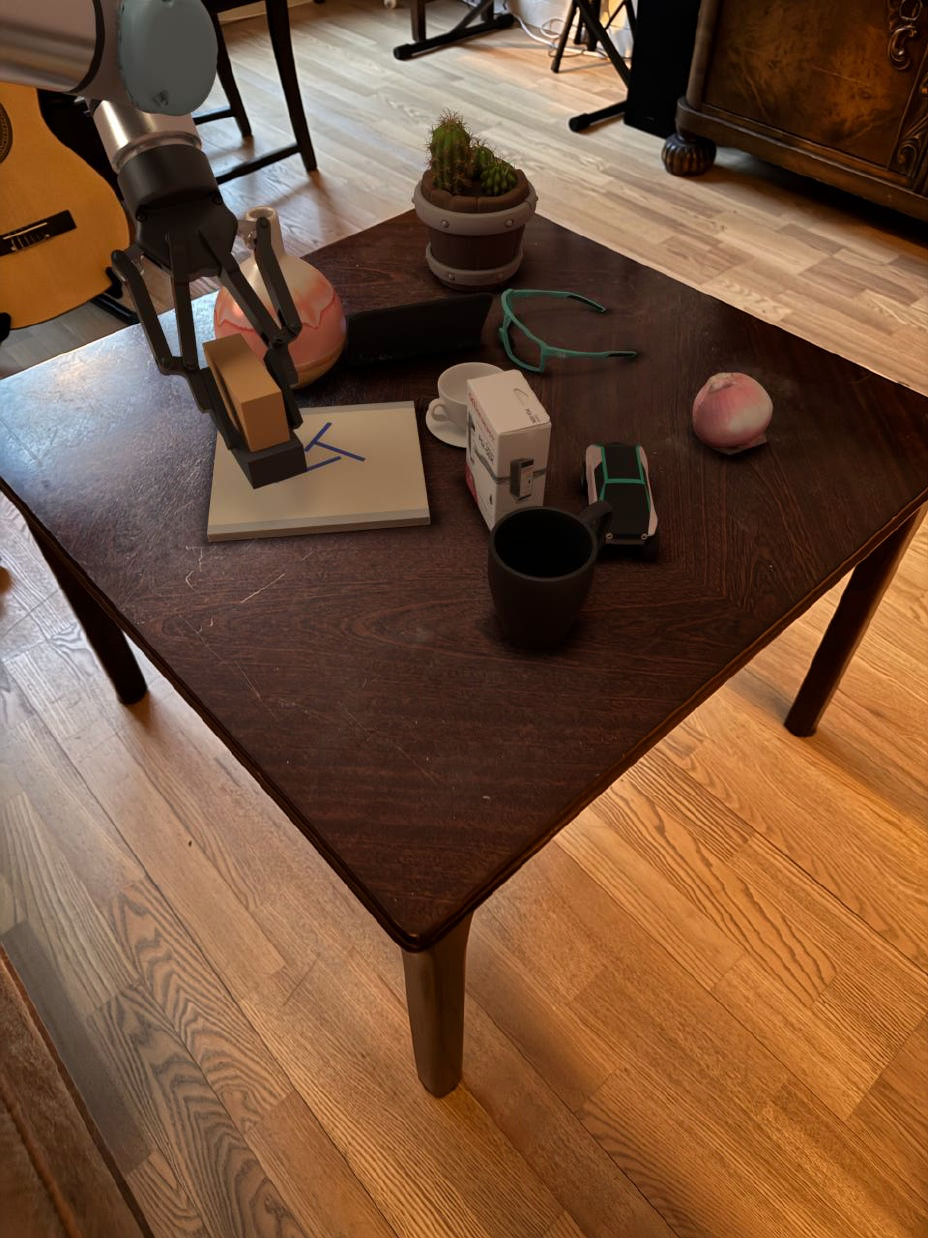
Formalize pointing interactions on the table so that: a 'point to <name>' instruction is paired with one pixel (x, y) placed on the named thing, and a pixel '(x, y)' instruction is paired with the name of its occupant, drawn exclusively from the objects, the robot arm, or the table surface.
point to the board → (329, 478)
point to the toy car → (622, 493)
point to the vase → (311, 300)
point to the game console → (416, 328)
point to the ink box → (505, 444)
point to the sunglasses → (545, 349)
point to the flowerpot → (472, 210)
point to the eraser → (254, 413)
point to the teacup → (454, 402)
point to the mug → (544, 569)
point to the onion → (732, 413)
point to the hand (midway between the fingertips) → (265, 435)
